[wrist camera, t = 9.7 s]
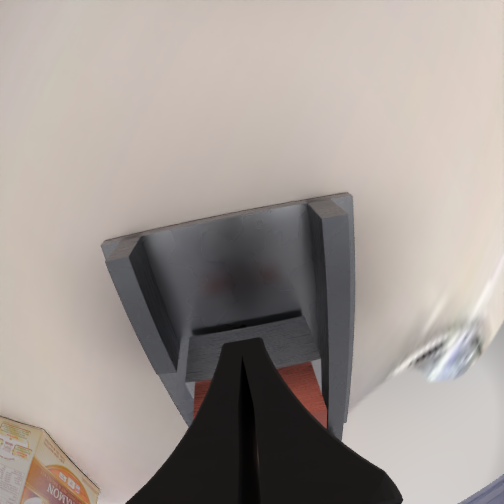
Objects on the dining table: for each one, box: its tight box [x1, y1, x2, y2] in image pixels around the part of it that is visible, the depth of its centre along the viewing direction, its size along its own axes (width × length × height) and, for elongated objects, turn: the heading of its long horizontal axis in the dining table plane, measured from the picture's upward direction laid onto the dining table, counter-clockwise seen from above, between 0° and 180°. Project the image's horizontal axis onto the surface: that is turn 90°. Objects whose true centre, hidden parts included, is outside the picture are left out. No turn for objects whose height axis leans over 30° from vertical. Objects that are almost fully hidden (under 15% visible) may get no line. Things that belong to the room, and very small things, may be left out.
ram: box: [185, 316, 327, 448], centre depth 13 cm, size 4×6×6 cm
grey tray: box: [101, 193, 355, 441], centre depth 15 cm, size 17×11×4 cm, turn 10°
